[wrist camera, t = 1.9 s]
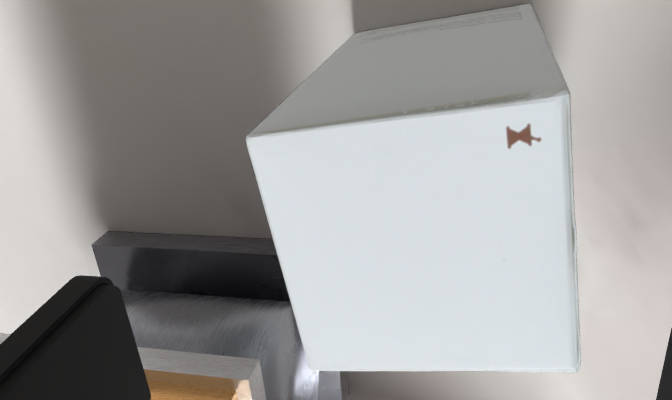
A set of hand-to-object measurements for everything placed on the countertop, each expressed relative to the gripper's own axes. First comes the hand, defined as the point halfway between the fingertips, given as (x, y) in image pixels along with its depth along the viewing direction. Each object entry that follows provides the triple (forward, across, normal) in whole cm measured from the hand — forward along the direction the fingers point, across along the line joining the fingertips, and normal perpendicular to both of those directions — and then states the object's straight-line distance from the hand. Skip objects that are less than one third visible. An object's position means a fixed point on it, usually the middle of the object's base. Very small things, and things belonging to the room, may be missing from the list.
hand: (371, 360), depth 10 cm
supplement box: (+17, -1, +1) cm, 17 cm away
